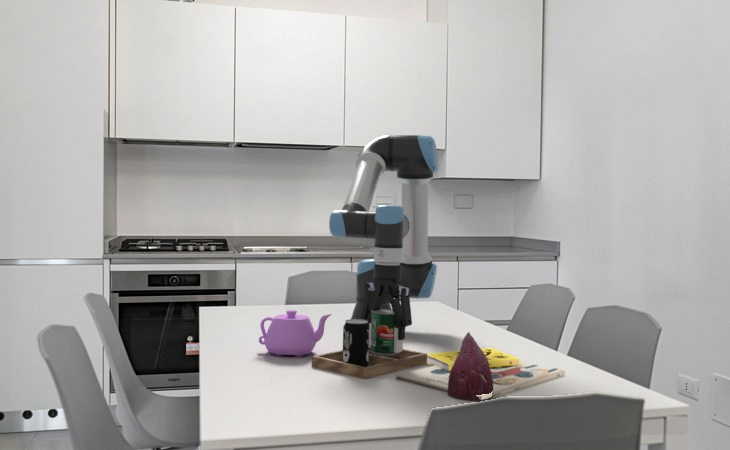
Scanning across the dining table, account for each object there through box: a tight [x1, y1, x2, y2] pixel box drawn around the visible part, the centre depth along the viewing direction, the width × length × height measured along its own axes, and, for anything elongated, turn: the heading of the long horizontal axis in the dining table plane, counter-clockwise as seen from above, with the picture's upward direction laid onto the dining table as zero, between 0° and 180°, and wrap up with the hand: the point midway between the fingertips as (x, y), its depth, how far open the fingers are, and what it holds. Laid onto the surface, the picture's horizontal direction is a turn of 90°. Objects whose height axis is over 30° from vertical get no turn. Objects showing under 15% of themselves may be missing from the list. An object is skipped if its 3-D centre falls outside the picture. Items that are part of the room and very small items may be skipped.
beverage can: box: [341, 318, 369, 367], centre depth 180 cm, size 7×7×12 cm
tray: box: [311, 348, 428, 380], centre depth 185 cm, size 18×25×2 cm
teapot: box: [258, 309, 333, 357], centre depth 196 cm, size 20×13×12 cm, turn 87°
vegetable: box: [447, 331, 494, 402], centre depth 159 cm, size 10×10×15 cm
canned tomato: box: [371, 308, 400, 356], centre depth 189 cm, size 8×8×11 cm
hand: (385, 349), depth 189 cm, fingers closed on canned tomato, 8 cm apart
